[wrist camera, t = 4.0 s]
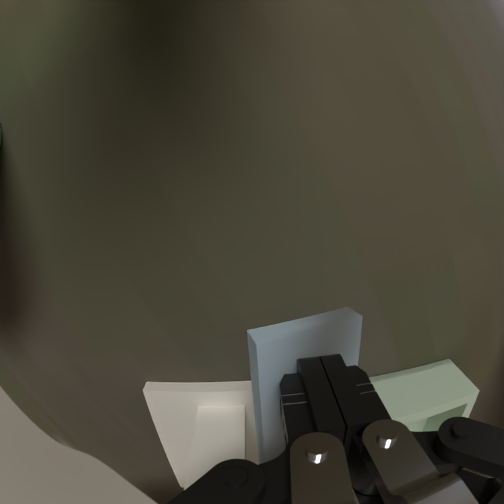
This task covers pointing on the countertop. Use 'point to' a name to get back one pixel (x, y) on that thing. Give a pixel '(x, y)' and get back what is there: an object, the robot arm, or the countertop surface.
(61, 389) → the countertop surface
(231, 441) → the stand
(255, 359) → the lever
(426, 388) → the pale green tray
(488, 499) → the robot arm
